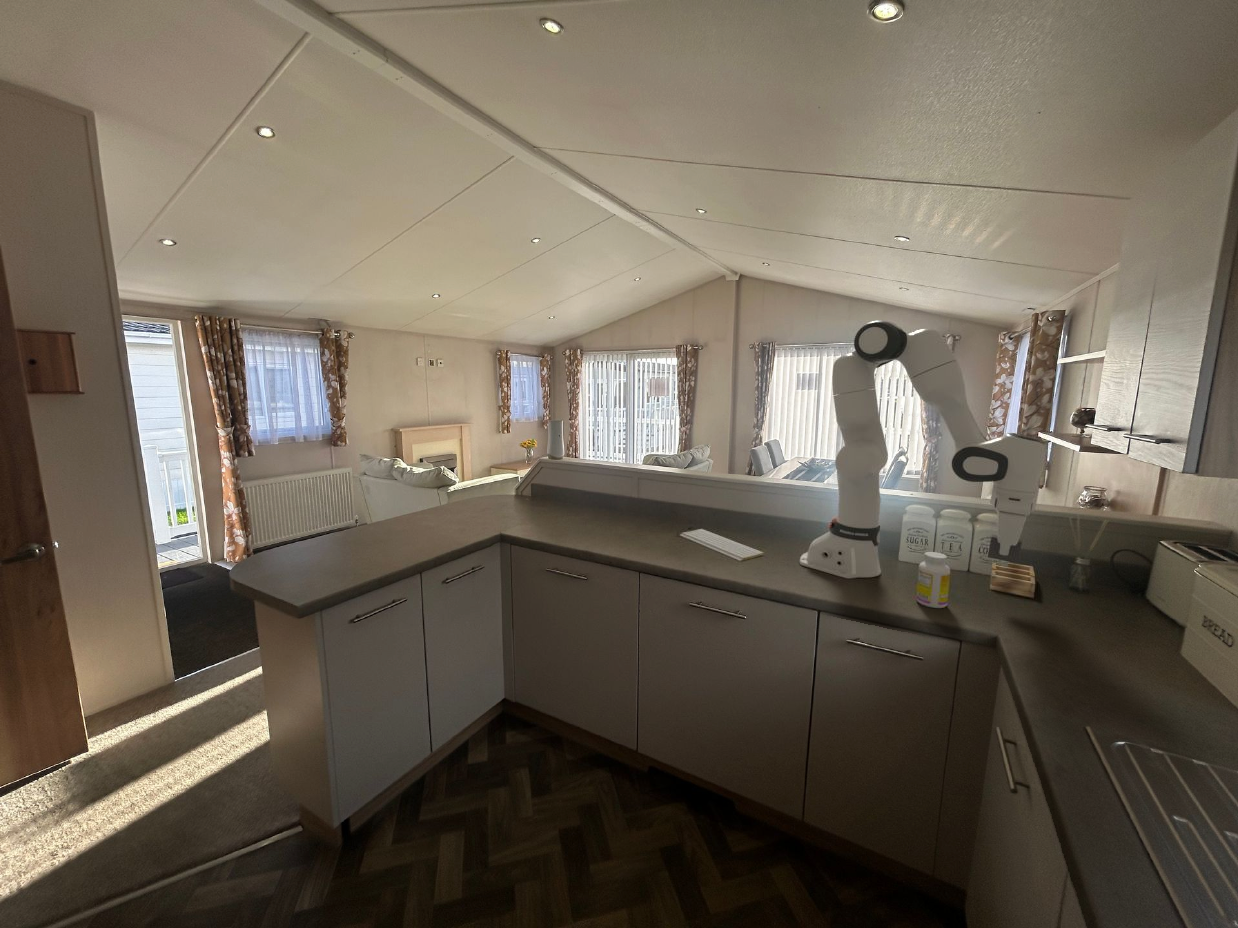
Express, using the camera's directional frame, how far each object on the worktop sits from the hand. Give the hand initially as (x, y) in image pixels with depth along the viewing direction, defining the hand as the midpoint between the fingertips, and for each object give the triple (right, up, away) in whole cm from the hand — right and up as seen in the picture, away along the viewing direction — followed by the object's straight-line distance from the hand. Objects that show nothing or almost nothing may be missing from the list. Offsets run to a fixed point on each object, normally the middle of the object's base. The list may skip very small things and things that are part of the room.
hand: (1003, 552), depth 123 cm
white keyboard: (-63, -7, +46) cm, 78 cm away
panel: (0, -2, 0) cm, 2 cm away
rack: (+12, -11, +12) cm, 20 cm away
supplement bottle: (-18, -13, 0) cm, 23 cm away
